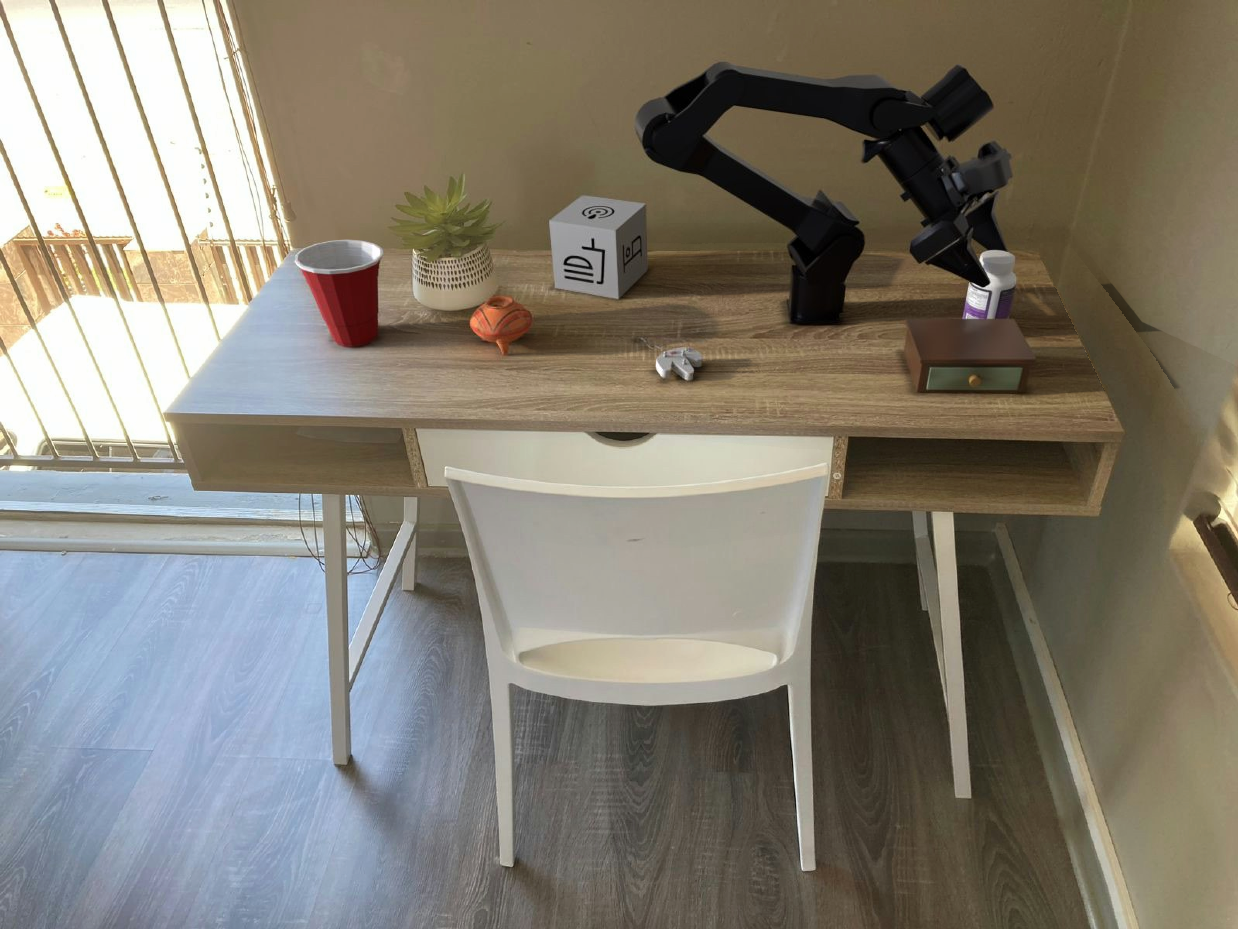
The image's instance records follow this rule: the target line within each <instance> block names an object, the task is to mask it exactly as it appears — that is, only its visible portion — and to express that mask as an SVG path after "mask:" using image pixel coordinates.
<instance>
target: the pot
mask: <svg viewBox="0 0 1238 929" xmlns="http://www.w3.org/2000/svg"><path fill="white" fill-rule="evenodd" d="M533 321H534V318H533V315H532V313H531V312H530V310H529V309H527V308H526V307H525V306H523V304H521V303H519V302H517V301H515V299H514V298H513V297H510V296H506V295H496V296H492V297H489V298H487V299H486V301H485V303H483V304H481V305H480V306H479V307H478V308H476V310H475V311H474V312H473V313H472V315H471V317H470V319H469V326H470V328H471V330H472V331H473V332H474V333H475V334H476V336H478V337H479V338H481V340H482V341H483V342H489V343H492V344H493V343H495V344H497V345H498V347H499V349H500V352H501V353H502V355H503V356H505V355H508V353H509V348H510V343H511V342H514V341H516V340H518V339H520V338H522V337H523V336H524V335H525V334H526V333H527V332H528V331H529V329H530V328H531V327H532V325H533Z"/></svg>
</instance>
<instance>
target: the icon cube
mask: <svg viewBox="0 0 1238 929" xmlns="http://www.w3.org/2000/svg"><path fill="white" fill-rule="evenodd" d="M548 222H549V223H548V225H549V237H550V245H551V246H550V247H551V257H552V269H553V281H554V288H555V289H560V290H565V291H569V292H574V293H575V292H576V293H580V294H581V293H582V294H587V295H594V296H598V297H605V298H609V299H617V300H619V299H620V298H621V297H622V296H623V295H624V294H626V292H628V290H630V288H631V287H633V286H634V285H635V283H636V282H638V281H639V280H640V279H641V277H643V275H644V274H646V272H647V271H649V270H648V269H649V268H648V231H647V229H648V228H647V226H648V225H647V224H648V223H647V203H645V202H636V201H629V200H621V199H613V198H606V197H598V196H593V195H592V196H591V195H583V194H582V195H580V196H579V197H578V198H576V200H574V201H572V202H571V203H570V204H568V206H566V207H565V208H563V209H562V210H561V211H560V212H558V213H557V214H556V215H554V216H553V217H552V218H550V219H549V220H548Z"/></svg>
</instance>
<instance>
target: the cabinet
mask: <svg viewBox="0 0 1238 929" xmlns="http://www.w3.org/2000/svg"><path fill="white" fill-rule="evenodd" d="M904 323H905V327H906V335H905V341H904V342H905V343H904V348H903V356H904V359H905V361H906V364H907V367H908V370H909V373H910V376H911V380H912V382H913V385H914V388H915V390H916V393H931V394H932V393H934V394H935V393H945V394H946V393H947V394H949V393H952V394H953V393H955V394H957V393H959V394H960V393H961V394H962V393H963V394H964V393H965V394H967V393H968V394H970V393H973V394H974V393H975V394H978V393H979V394H982V393H984V394H986V393H987V394H989V393H990V394H1024V393H1026V392H1025V391H1026V388H1027V383H1028V379H1029V376H1030V372H1031V368H1032V365H1035V364H1036V363H1037V357H1036V356H1035V354H1034V352H1033V350H1032V348H1031V346H1030V344H1029V343H1028V342H1027V340H1026V338H1025V336H1024V334H1023V332H1022V331H1021V329H1020V327H1019V325H1018V324H1017V322H1016V320H1015V318H1009V319H963V318H906V319H905V322H904Z"/></svg>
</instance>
